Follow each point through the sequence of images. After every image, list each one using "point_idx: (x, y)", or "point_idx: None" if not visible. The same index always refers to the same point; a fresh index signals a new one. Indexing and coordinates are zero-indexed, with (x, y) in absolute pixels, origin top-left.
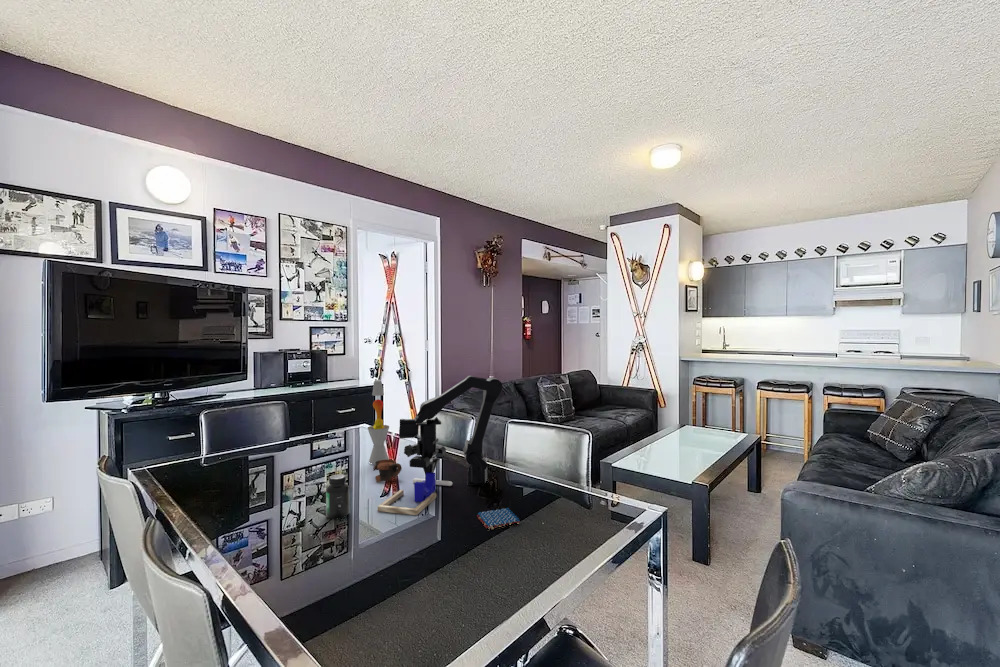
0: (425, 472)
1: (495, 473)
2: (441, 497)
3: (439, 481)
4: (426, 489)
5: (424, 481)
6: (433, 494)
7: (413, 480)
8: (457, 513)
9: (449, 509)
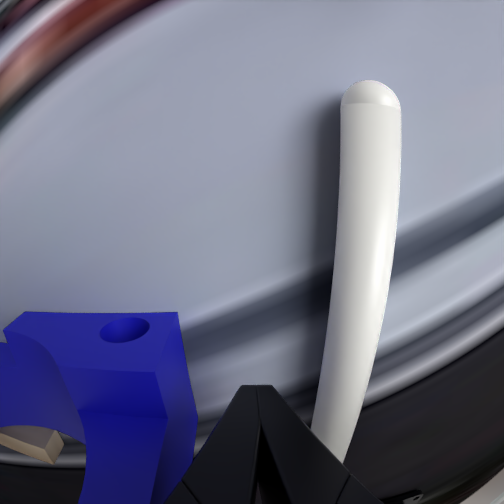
0: (185, 482)
1: (477, 488)
2: (84, 464)
3: (325, 434)
4: (52, 407)
5: (122, 395)
6: (27, 452)
7: (348, 95)
8: (15, 494)
9: (15, 481)
